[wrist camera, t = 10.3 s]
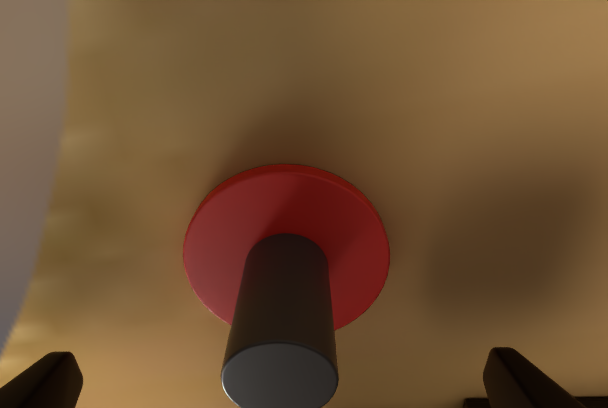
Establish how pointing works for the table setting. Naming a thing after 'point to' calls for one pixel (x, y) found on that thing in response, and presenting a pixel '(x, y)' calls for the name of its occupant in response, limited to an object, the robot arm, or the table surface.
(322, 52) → the table surface
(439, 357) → the table surface
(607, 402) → the cabinet
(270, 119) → the table surface
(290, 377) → the red lid
